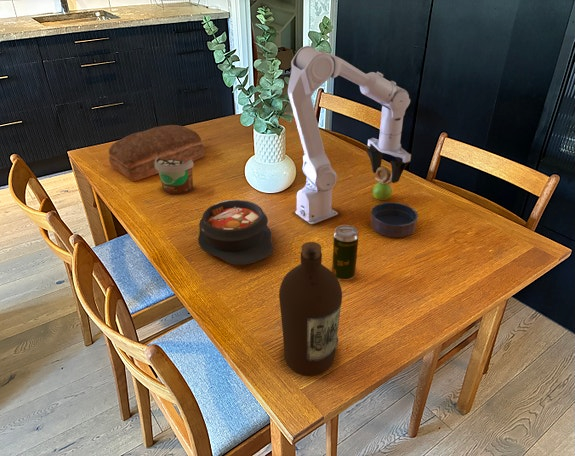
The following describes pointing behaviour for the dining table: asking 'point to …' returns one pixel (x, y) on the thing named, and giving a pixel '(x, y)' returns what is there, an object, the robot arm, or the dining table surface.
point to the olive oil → (310, 313)
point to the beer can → (345, 252)
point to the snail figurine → (382, 184)
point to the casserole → (235, 232)
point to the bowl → (393, 219)
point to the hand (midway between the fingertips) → (385, 176)
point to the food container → (175, 175)
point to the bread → (154, 150)
